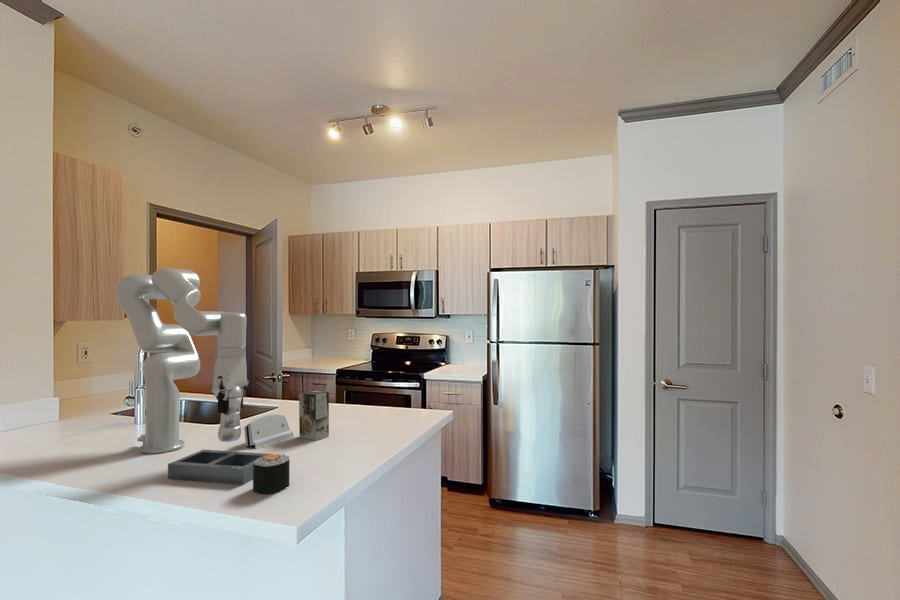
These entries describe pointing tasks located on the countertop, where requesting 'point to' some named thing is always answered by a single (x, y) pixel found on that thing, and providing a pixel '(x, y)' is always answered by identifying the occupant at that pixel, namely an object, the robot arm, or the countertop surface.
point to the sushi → (271, 473)
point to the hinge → (267, 430)
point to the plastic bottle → (231, 417)
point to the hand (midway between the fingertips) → (230, 409)
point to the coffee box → (314, 414)
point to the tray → (215, 466)
